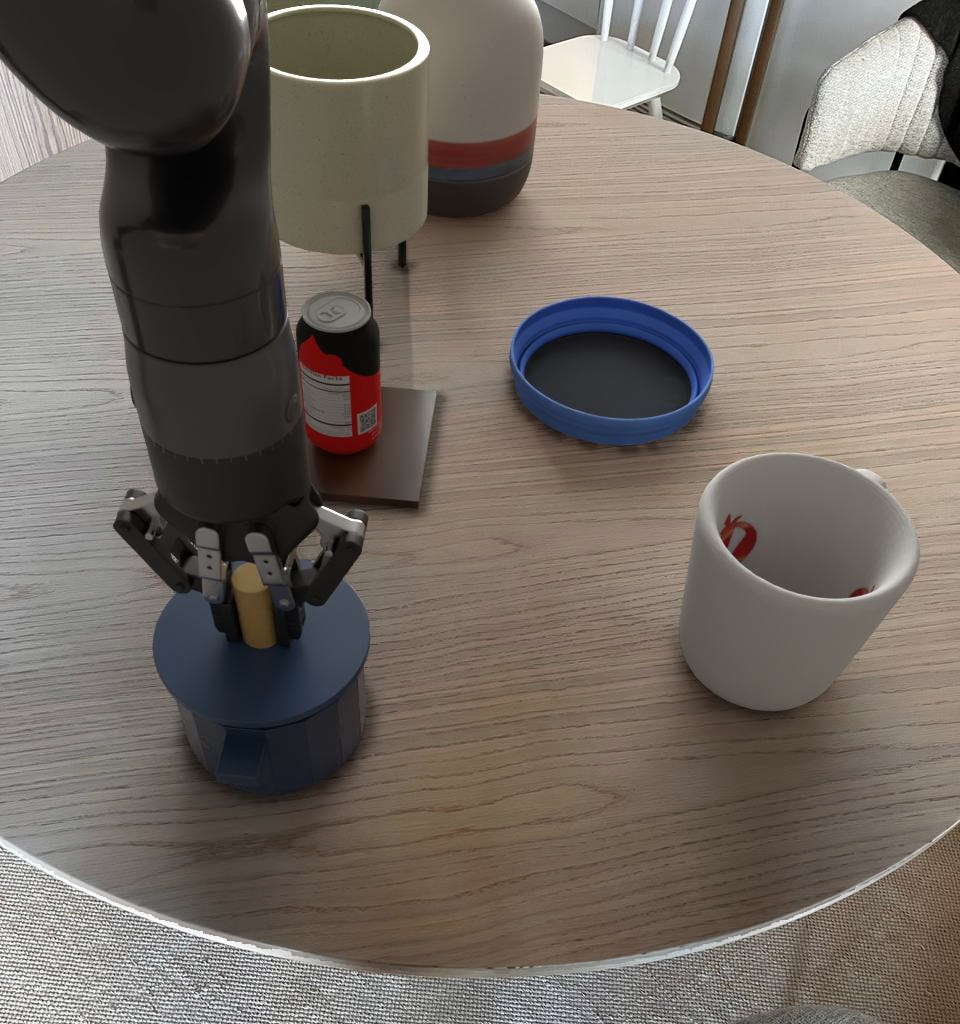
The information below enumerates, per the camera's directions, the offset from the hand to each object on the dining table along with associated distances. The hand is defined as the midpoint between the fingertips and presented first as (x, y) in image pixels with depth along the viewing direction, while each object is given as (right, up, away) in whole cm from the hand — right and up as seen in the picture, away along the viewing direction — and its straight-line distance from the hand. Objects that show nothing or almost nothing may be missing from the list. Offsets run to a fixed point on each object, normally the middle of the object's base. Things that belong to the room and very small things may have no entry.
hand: (262, 632), depth 61 cm
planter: (0, +33, +38) cm, 50 cm away
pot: (0, -6, +7) cm, 9 cm away
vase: (+10, +49, +52) cm, 72 cm away
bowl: (+24, +22, +32) cm, 46 cm away
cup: (+34, 0, +14) cm, 37 cm away
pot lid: (0, 0, +1) cm, 1 cm away
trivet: (+2, +16, +25) cm, 29 cm away
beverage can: (+2, +16, +24) cm, 29 cm away
